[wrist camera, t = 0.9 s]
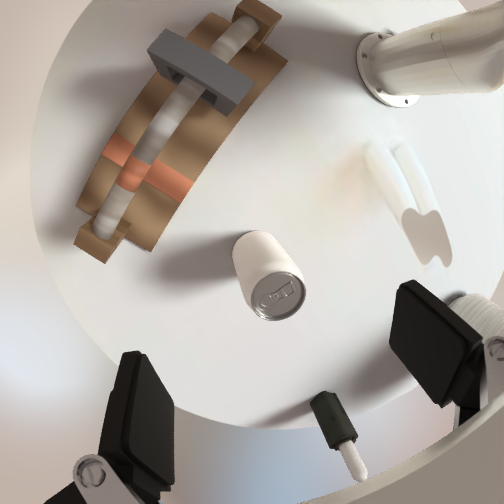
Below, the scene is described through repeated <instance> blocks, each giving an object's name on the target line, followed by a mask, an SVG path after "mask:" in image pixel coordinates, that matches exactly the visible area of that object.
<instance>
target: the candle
mask: <svg viewBox="0 0 504 504" xmlns="http://www.w3.org/2000/svg"><path fill="white" fill-rule="evenodd" d="M310 405H311V407H312V410H313V412H314V414H315V416H316V419H317V421H318V423H319V425H320V428H321V430H322V432H323V434H324V436H325V438H326V441H327V443H328V446H329V448H330V449H335V450H336V451H337V450H339V451H340V452H341V454H342V456H343V458H344V460H345V462H346V465H347V467H348V469H349V471H350V473H351V475H352V477H353V479H354V480H356V481H358V482H362V481H365V480H367V474H368V472H367V469H366V467H365V465H364V463H363V462H362V460H361V458H360V456H359V454H358V452H357V450H356V448H355V446H354V443H355V441H356V439H357V438H358V434H357V433H356V431H355V429H354V427H353V425H352V423H351V421H350V419H349V418H348V416H347V414H346V412H345V410H344V408H343V407H342V405H341V403H340V401H339V399H338V397H337V395H336V394H335V393H329V392H327V391H323V392H321V393H320V394H318V395H317V396H316V397H315V398H314V399H313V400H312V401H311V402H310Z"/></svg>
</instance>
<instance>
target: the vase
mask: <svg viewBox="0 0 504 504" xmlns="http://www.w3.org/2000/svg"><path fill="white" fill-rule="evenodd" d="M448 307H449V308H450V309H452V310H453V311H454V312H455V313H456V314H457V315H459V316H460V317H461V318H462V319H463V320H464V321H466V322H467V323H468V324H469V325H470V326H471V327H472V328H473V329H475V330H476V331H477V332H478V333H479V334H480V335H481V336H482V337H483V340H482V343H483V344H485V342H486V340H487V339H488V338H490V337H492V336H501V337H504V310H503V309H502V308H500V307H499V306H497V305H496V304H495V303H493V302H492V301H490V300H489V299H487V298H486V297H484V296H482V295H480V294H469V295H466V296H464V297H459V298H457V299H455V300H454V301H452V302H451V303H450V304H449V305H448Z"/></svg>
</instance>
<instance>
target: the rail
mask: <svg viewBox="0 0 504 504" xmlns="http://www.w3.org/2000/svg"><path fill="white" fill-rule="evenodd" d="M281 17H282V15H280V14H279V13H277V12H276V11H274V10H273V9H271V8H270V7H268V6H266V5H265V4H263V3H261V2H260V1H258V0H243V1H242V2H241V3H240V4H238V5H237V6H236V9H235V12H234V16H233V19H232V22H231V23H230V22H228V21H227V20H225V19H223V18H221V17H219V16H218V15H216V14H214V13H212V12H211V13H210V14H209V15H208V16H207V17H206V18H205V19H204V20H203V21H202V22H201V23H200V24H199V25H198V26H197V27H196V28H195V29H194V30H193V31H192V32H191V33H190V34H189V35H188V36H187V37H186V38H185V39H186V40H188V41H190V42H192V43H194V44H195V45H197V46H199V47H201V48H202V49H204V50H206V51H207V52H209V53H211V54H212V55H214V56H216V57H217V58H219V59H221V60H222V61H224V62H225V63H227V64H229V65H230V66H232V67H233V68H235V69H236V70H238V71H239V72H241V73H242V74H244V75H245V76H247V77H248V78H250V79H251V80H252V81H254V82H255V84H254V85H253V87H252V88H251V89H250V90H249V91H248V93H247V94H246V95H245V96H244V97H243V99H242V100H241V101H240V102H239V104H238V105H237V106H236V107H235V108H234V109H233V110H232V111H231V113H230V114H229V115H228V116H227V117H226V116H225V115H223V114H222V113H220V112H219V111H217V110H216V109H214V108H213V107H211V106H209V105H208V104H206V103H205V102H203V101H202V100H200V99H199V97H200V96H201V94H202V93H203V92H204V91H205V88H204V87H202V86H200V85H199V84H197V83H196V82H194V81H192V80H191V79H189V78H187V77H186V76H185V77H184V78H183V79H182V81H181V82H180V83H179V84H178V86H177V85H176V84H174V83H172V82H171V81H169V80H167V79H165V78H164V77H162V76H161V75H160V74H159V72H158V71H157V72H156V73H155V74H154V76H153V77H152V78H151V80H150V81H149V82H148V83H147V85H146V86H145V88H144V89H143V90H142V92H141V93H140V94H139V96H138V97H137V99H136V100H135V101H134V103H133V104H132V106H131V107H130V109H129V110H128V112H127V113H126V115H125V116H124V118H123V119H122V121H121V122H120V124H119V126H118V127H117V129H116V130H115V132H114V133H113V135H112V137H111V138H110V140H109V142H108V143H107V145H106V147H105V149H104V150H103V152H102V154H101V156H100V158H99V160H98V162H97V163H96V165H95V167H94V169H93V171H92V173H91V175H90V177H89V179H88V181H87V183H86V185H85V187H84V189H83V191H82V193H81V196H80V198H79V200H78V202H77V204H76V206H77V207H79V208H80V209H82V210H83V211H85V212H86V213H88V214H89V215H91V216H92V217H93V218H92V219H90V220H89V221H88V222H87V223H85V224H84V225H83V226H81V227H80V229H79V231H78V234H77V236H76V239H75V241H74V245H76V246H77V247H79V248H80V249H82V250H83V251H85V252H86V253H88V254H90V255H91V256H93V257H94V258H96V259H98V260H99V261H101V262H102V263H104V264H105V263H106V262H107V261H108V259H109V258H110V256H111V255H112V253H113V252H114V251H115V249H116V248H117V247H118V245H119V244H120V242H121V241H122V240H123V238H124V237H126V238H128V239H129V240H131V241H133V242H134V243H136V244H138V245H139V246H141V247H143V248H144V249H146V250H148V251H149V252H151V251H152V249H153V248H154V246H155V244H156V243H157V241H158V239H159V238H160V236H161V234H162V233H163V231H164V229H165V228H166V226H167V224H168V223H169V221H170V220H171V218H172V216H173V215H174V213H175V212H176V210H177V208H178V207H179V205H180V204H181V202H182V201H183V199H184V198H185V196H186V195H187V193H188V192H189V190H190V189H191V187H192V186H193V184H194V182H195V181H196V179H197V178H198V177H199V175H200V174H201V172H202V171H203V169H204V168H205V166H206V165H207V164H208V162H209V161H210V159H211V158H212V156H213V155H214V154H215V152H216V151H217V150H218V148H219V147H220V145H221V144H222V143H223V141H224V140H225V139H226V137H227V136H228V135H229V133H230V132H231V131H232V129H233V128H234V127H235V125H236V124H237V123H238V121H239V120H240V119H241V117H242V116H243V115H244V114H245V112H246V111H247V110H248V109H249V107H250V106H251V105H252V104H253V102H254V101H255V100H256V99H257V97H258V96H259V95H260V94H261V93H262V91H263V90H264V89H265V88H266V87H267V85H268V84H269V83H270V82H271V81H272V79H273V78H274V77H275V76H276V75H277V74H278V72H279V71H280V70H281V69H282V68H283V67H284V66H285V64H286V63H287V62H288V61H287V60H286V59H285V58H283V57H282V56H280V55H279V54H278V53H276V52H275V51H273V50H272V49H271V48H269V47H268V46H266V45H265V44H263V42H264V41H265V39H266V38H267V36H268V35H269V34H270V32H271V31H272V29H273V28H274V27H275V25H276V24H277V23H278V21H279V20H280V19H281Z"/></svg>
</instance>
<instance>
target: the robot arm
mask: <svg viewBox="0 0 504 504" xmlns="http://www.w3.org/2000/svg"><path fill="white" fill-rule="evenodd" d="M357 65H358V69H359V72H360V75H361V77H362V79H363V81H364V83H365V85H366V86H367V88H368V89H369V90H370V92H371V93H372V94H373V95H374V96H375V97H376V98H377V99H379V100H380V101H381V102H383V103H385V104H386V105H389V106H391V107H397V108H401V107H408V106H410V105H412V104H414V103H415V102H416V101H417V100H418V98H419V96H424V95H438V94H460V93H490V92H493V91H495V90H497V89H498V88H500V87H501V86H502V84H503V83H504V0H502V1H499V2H497V3H494V4H492V5H489V6H486V7H483V8H480V9H477V10H473V11H470V12H466V13H463V14H459V15H456V16H452V17H448V18H445V19H442V20H438V21H435V22H432V23H429V24H425V25H422V26H419V27H416V28H414V29H411V30H408V31H405V32H403V33H400V34H397V35H395V36H392V35H389V34H386V33H373V34H371V35H369V36H367V37H365V38H364V39H363V40H362V41H361V42H360V44H359V47H358V50H357ZM482 340H483V337H482V336H481V335H480V334H479V333H478V332H477V331H476V330H475V329H473V328H472V327H471V326H470V325H469V324H468V323H467V322H466V321H464V320H463V319H462V318H461V317H460V316H459V315H457V314H456V313H455V312H454V311H453V310H452V309H450V308H449V307H448V306H447V305H446V304H444V303H443V302H442V301H441V300H440V299H438V298H437V297H436V296H435V295H433V294H432V293H431V292H430V291H429V290H427V289H426V288H425V287H423V286H422V285H421V284H420V283H418V282H417V281H416V280H410V281H407V282H405V283H402V284H400V286H399V289H398V290H397V292H396V300H395V307H394V314H393V321H392V327H391V333H390V338H389V344H390V347H391V349H392V350H393V351H394V352H395V354H396V355H397V356H398V357H399V359H400V360H401V361H402V362H403V364H404V365H405V366H406V367H407V369H408V370H409V371H410V373H411V374H412V375H413V376H414V378H415V379H416V380H417V382H418V383H419V384H420V385H421V387H422V388H423V389H424V391H425V392H426V393H427V394H428V396H429V397H430V398H431V400H432V401H433V402H434V403H435V404H439V406H440V407H441V408H443V407H445V406H446V405H448V404H449V403H451V402H452V400H453V402H454V403H455V404H456V405H455V417H454V427H453V431H452V432H451V433H450V434H448V435H447V436H445V437H444V438H442V439H441V440H439V441H438V442H436V443H435V444H433V445H431V446H430V447H428V448H427V449H425V450H423V451H422V452H420V453H418V454H417V455H415V456H413V457H411V458H409V459H408V460H406V461H404V462H402V463H400V464H398V465H396V466H395V467H393V468H391V469H389V470H387V471H385V472H382V473H380V474H378V475H376V476H374V477H372V478H369V479H367V480H365V481H362V482H360V483H358V484H355V485H353V486H350V487H348V488H345V489H342V490H340V491H337V492H334V493H331V494H328V495H325V496H322V497H319V498H316V499H312V500H309V501H306V502H302V503H298V504H504V337H501V336H492V337H490V338H488V339H487V340H486V342H485V344H483V343H482ZM73 479H74V481H73V482H72V483H71V484H69V485H68V486H67V487H65V488H64V489H62V490H61V491H60V492H58V493H57V494H56V495H54V496H53V497H51V498H50V499H48V500H47V501H46V502H45V503H44V504H163V503H162V502H161V501H160V491H171V485H173V484H174V482H175V478H174V403H173V400H172V398H171V396H170V395H169V393H168V392H167V390H166V388H165V387H164V385H163V383H162V382H161V380H160V378H159V377H158V375H157V373H156V371H155V370H154V368H153V366H152V364H151V363H150V361H149V359H148V357H147V356H146V354H141V352H140V351H131V352H124V353H123V354H122V357H121V361H120V365H119V369H118V372H117V376H116V380H115V384H114V389H113V390H112V391H111V393H110V396H109V400H108V405H107V409H106V414H105V418H104V423H103V428H102V433H101V438H100V444H99V450H98V455H94V454H90V455H85V456H83V457H82V458H80V459H79V460H78V461H77V462H76V464H75V466H74V469H73Z"/></svg>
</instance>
